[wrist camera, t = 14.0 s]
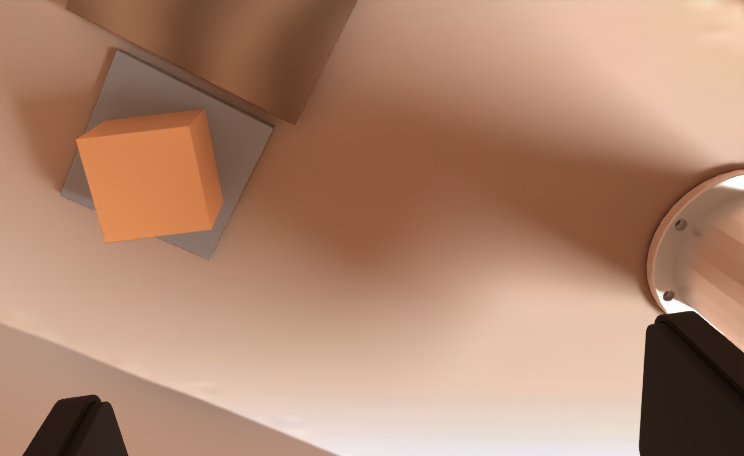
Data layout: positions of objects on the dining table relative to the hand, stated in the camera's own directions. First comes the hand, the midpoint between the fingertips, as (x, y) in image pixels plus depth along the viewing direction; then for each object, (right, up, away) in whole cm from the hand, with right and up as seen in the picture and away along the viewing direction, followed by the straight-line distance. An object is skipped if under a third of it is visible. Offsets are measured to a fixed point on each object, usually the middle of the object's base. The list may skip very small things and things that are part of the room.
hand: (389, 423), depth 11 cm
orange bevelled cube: (-13, +7, +28) cm, 32 cm away
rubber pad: (-13, +8, +28) cm, 32 cm away
